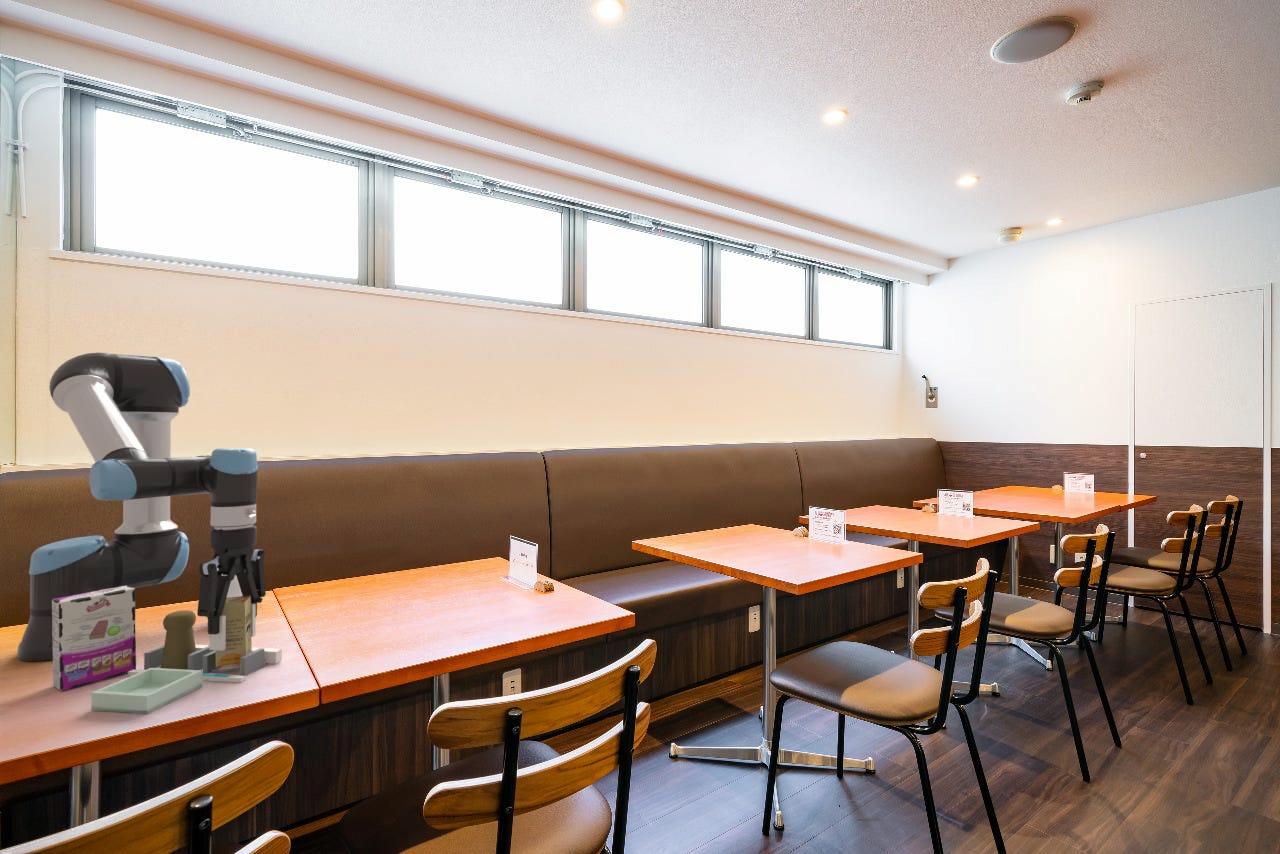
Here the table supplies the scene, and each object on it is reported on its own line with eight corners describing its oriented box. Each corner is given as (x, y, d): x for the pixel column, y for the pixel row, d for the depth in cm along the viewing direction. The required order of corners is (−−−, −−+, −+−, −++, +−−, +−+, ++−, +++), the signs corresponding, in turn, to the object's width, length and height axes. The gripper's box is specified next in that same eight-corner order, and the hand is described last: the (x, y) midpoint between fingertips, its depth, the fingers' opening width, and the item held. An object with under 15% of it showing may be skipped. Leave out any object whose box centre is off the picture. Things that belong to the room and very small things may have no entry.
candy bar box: (127, 666, 119) (127, 584, 119) (136, 671, 116) (137, 587, 116) (50, 686, 109) (50, 597, 109) (59, 693, 107) (59, 602, 107)
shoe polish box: (251, 654, 120) (250, 595, 120) (246, 663, 116) (245, 601, 116) (222, 658, 118) (221, 598, 118) (215, 667, 114) (214, 605, 114)
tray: (91, 710, 100) (91, 692, 100) (150, 683, 110) (150, 667, 110) (147, 714, 99) (147, 696, 99) (201, 686, 109) (201, 670, 109)
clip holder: (127, 675, 114) (128, 657, 114) (177, 655, 124) (177, 638, 124) (241, 682, 111) (241, 663, 111) (281, 660, 121) (281, 643, 121)
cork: (182, 673, 115) (182, 616, 115) (151, 673, 115) (152, 616, 115) (205, 661, 121) (205, 607, 121) (176, 660, 121) (176, 607, 121)
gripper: (209, 536, 107) (208, 663, 107) (287, 519, 126) (286, 626, 126) (171, 534, 108) (170, 661, 108) (255, 518, 127) (254, 624, 127)
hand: (233, 642), depth 117 cm, fingers closed on shoe polish box, 7 cm apart
